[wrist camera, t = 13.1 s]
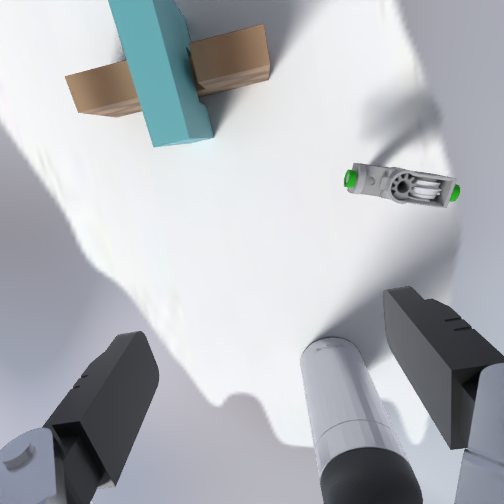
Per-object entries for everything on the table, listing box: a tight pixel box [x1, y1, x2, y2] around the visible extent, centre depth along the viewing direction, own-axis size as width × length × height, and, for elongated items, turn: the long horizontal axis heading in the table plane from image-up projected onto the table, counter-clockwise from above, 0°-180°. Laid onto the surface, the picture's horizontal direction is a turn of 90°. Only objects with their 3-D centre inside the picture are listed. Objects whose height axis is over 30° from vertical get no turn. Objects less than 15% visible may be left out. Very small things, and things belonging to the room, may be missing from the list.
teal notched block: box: [108, 0, 214, 147], centre depth 28 cm, size 12×3×13 cm, turn 12°
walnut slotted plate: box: [65, 24, 270, 117], centre depth 31 cm, size 18×3×8 cm, turn 102°
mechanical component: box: [344, 163, 460, 208], centre depth 33 cm, size 3×10×10 cm, turn 83°
